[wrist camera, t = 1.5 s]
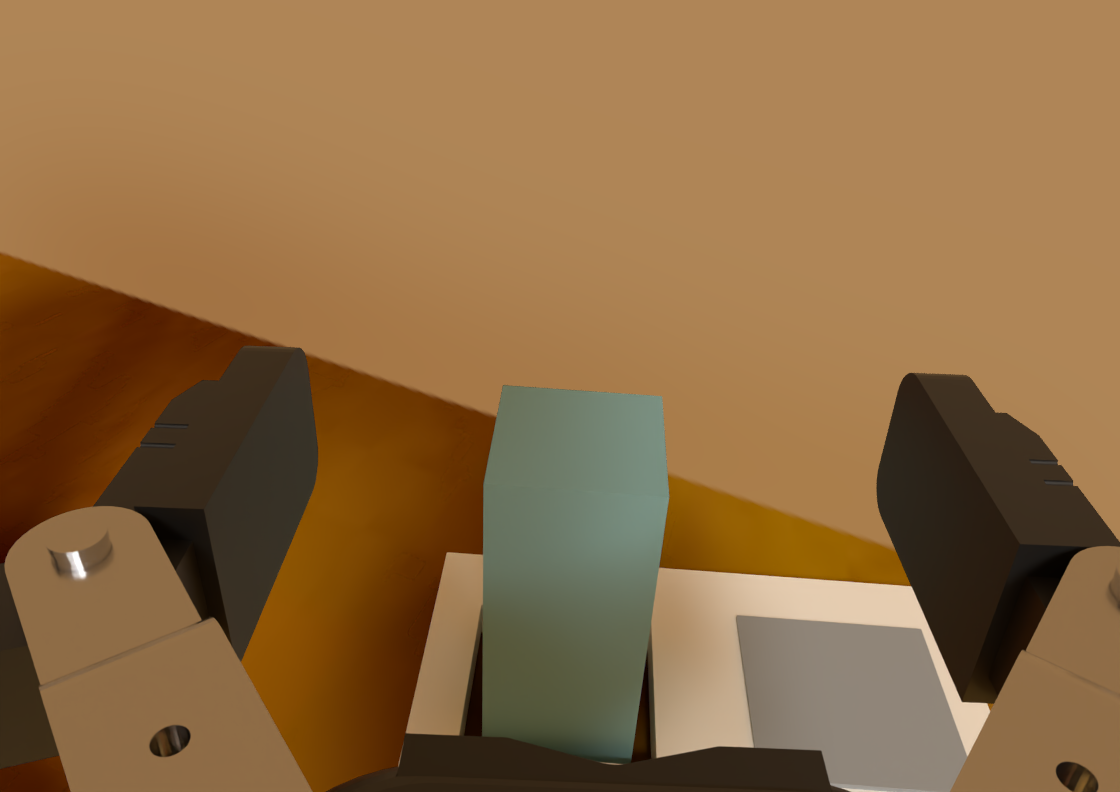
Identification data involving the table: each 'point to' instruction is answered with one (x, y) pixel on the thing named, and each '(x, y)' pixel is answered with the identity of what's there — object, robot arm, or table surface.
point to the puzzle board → (757, 673)
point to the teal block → (571, 566)
